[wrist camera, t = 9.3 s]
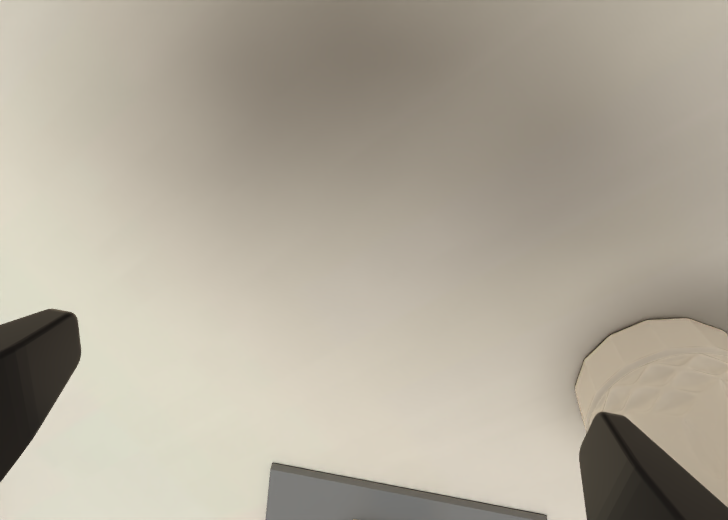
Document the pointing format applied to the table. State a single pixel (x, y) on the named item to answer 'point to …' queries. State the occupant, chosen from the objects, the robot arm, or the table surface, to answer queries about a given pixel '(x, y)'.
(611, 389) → the white cup
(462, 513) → the slate pad
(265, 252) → the table surface
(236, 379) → the table surface
